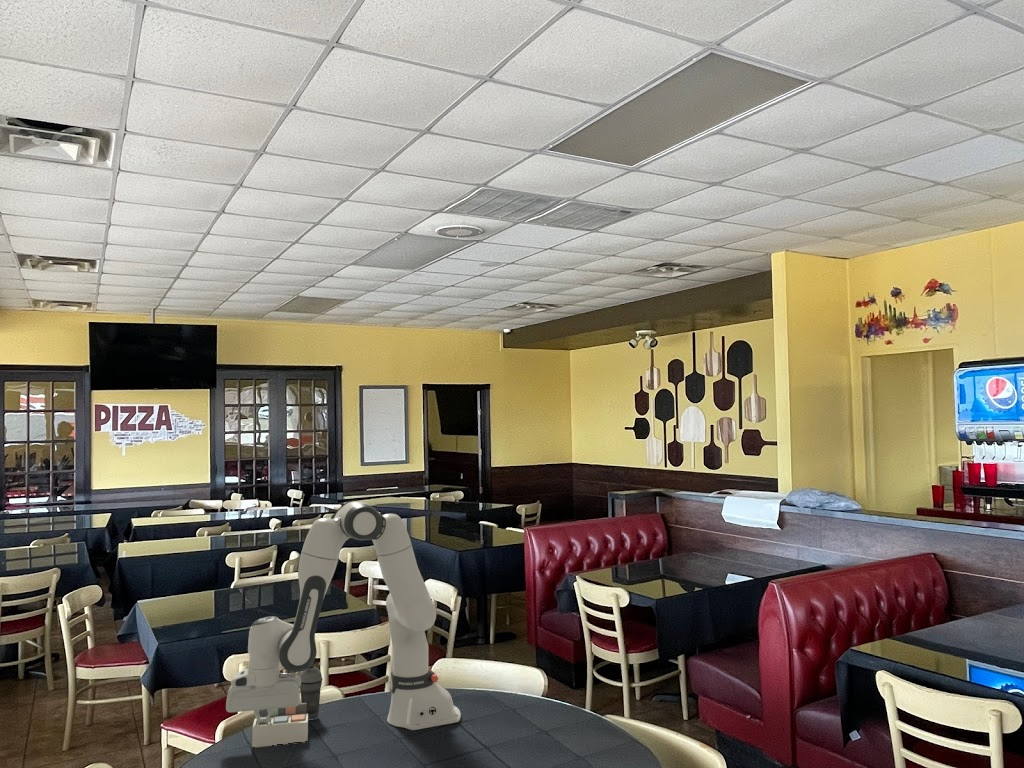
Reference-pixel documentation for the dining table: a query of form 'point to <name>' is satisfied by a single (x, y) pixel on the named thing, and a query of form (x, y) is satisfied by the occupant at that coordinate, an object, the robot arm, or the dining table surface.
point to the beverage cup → (311, 690)
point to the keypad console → (281, 727)
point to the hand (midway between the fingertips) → (263, 724)
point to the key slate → (281, 719)
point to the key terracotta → (298, 718)
